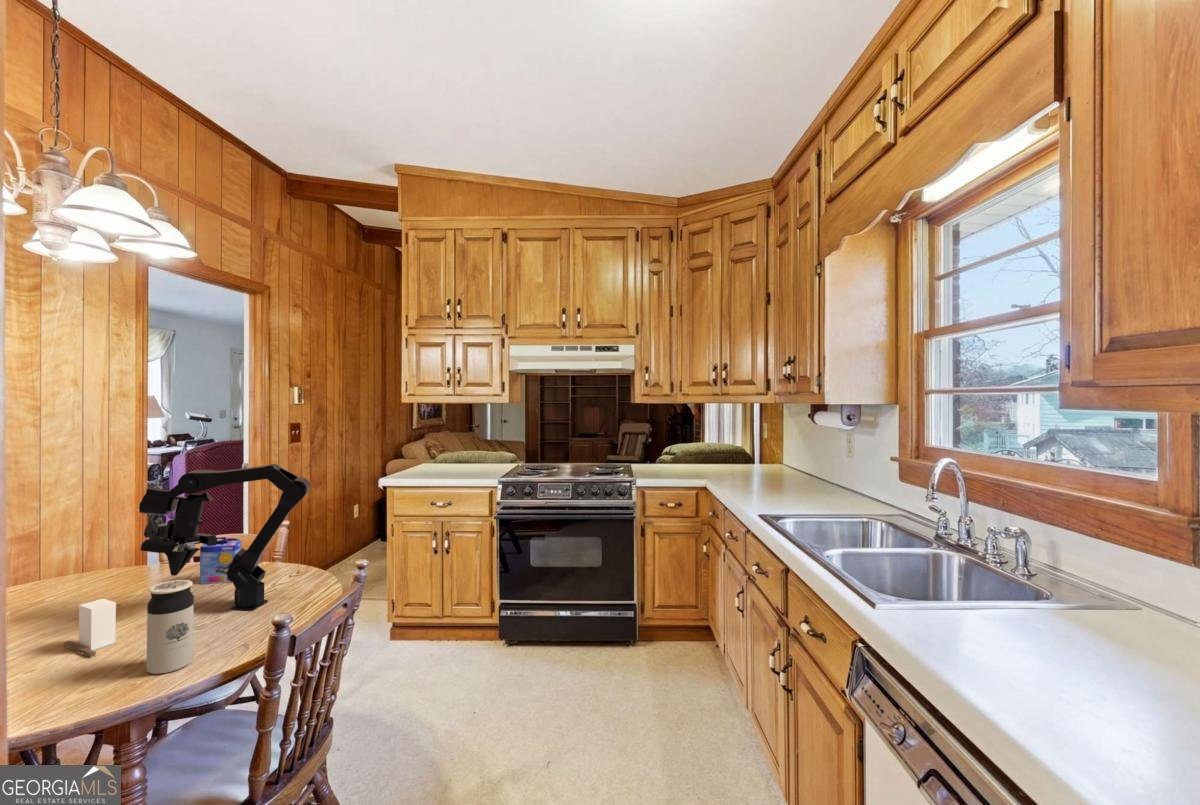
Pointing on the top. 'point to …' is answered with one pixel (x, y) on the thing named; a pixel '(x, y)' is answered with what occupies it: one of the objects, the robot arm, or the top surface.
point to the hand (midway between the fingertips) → (173, 575)
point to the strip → (79, 648)
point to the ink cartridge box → (217, 560)
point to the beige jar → (170, 626)
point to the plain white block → (97, 624)
